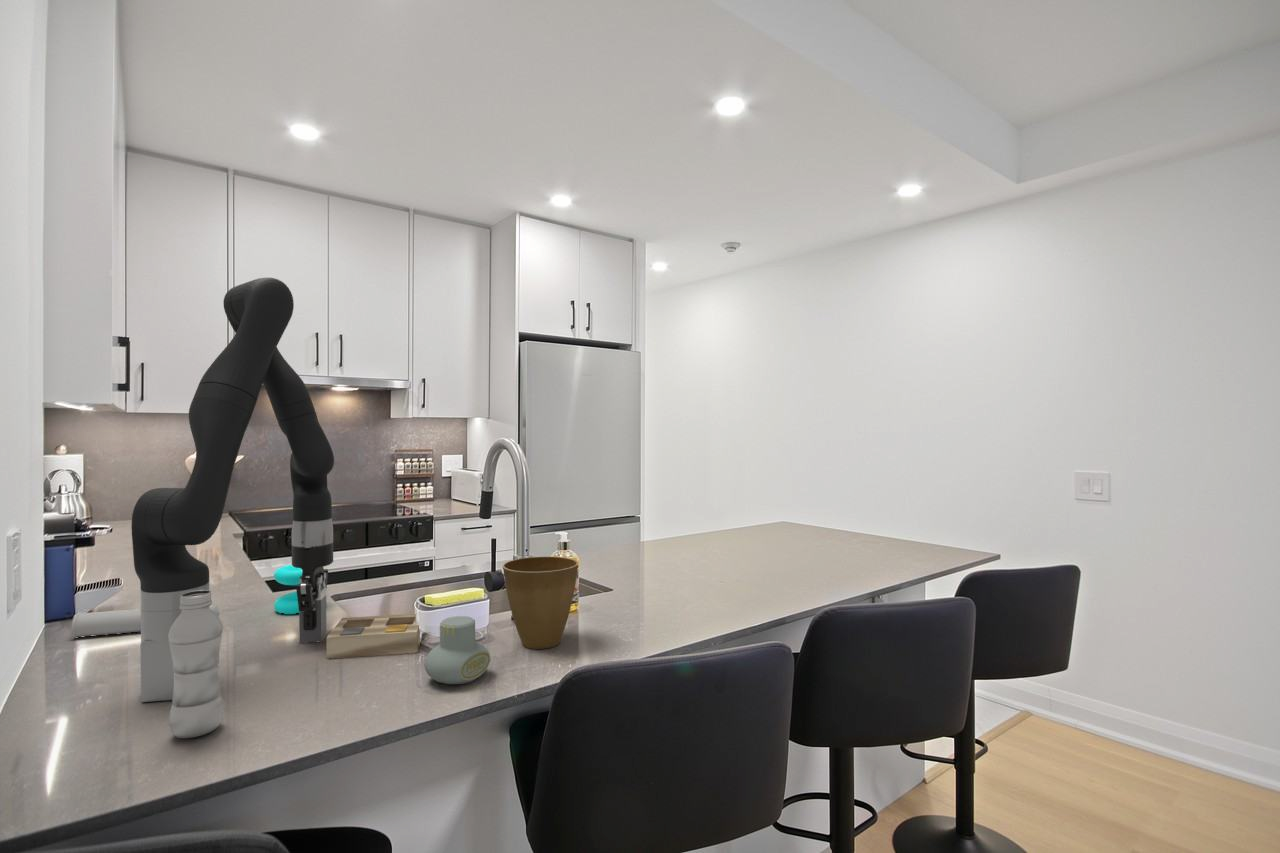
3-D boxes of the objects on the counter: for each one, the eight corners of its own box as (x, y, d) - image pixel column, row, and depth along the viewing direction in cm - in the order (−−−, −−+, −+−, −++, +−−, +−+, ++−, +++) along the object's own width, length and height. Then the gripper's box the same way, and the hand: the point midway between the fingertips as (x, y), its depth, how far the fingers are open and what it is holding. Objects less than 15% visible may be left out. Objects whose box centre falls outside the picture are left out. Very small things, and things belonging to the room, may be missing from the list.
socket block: (416, 652, 125) (416, 630, 125) (326, 658, 122) (326, 635, 122) (424, 632, 137) (424, 611, 137) (342, 637, 134) (342, 616, 134)
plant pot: (593, 639, 133) (593, 560, 133) (543, 662, 121) (543, 575, 120) (538, 626, 141) (538, 552, 141) (486, 646, 129) (486, 565, 129)
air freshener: (452, 695, 106) (451, 633, 106) (416, 684, 110) (415, 625, 110) (497, 672, 116) (497, 616, 116) (462, 663, 120) (462, 609, 120)
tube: (223, 602, 145) (84, 612, 137) (217, 601, 140) (73, 611, 132) (221, 627, 144) (80, 639, 135) (215, 627, 139) (69, 639, 130)
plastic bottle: (234, 721, 97) (233, 586, 96) (205, 744, 90) (204, 599, 90) (189, 722, 97) (188, 587, 96) (157, 745, 90) (156, 600, 89)
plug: (321, 641, 131) (320, 592, 131) (299, 643, 130) (299, 593, 130) (326, 635, 135) (326, 586, 135) (305, 636, 134) (305, 587, 134)
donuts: (327, 567, 152) (280, 574, 146) (328, 610, 152) (280, 618, 146) (314, 560, 160) (269, 566, 153) (315, 601, 160) (269, 609, 153)
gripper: (303, 535, 138) (303, 616, 139) (280, 549, 124) (281, 639, 125) (341, 534, 140) (341, 614, 140) (323, 547, 126) (323, 636, 126)
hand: (313, 625), depth 132 cm, fingers closed on plug, 4 cm apart
